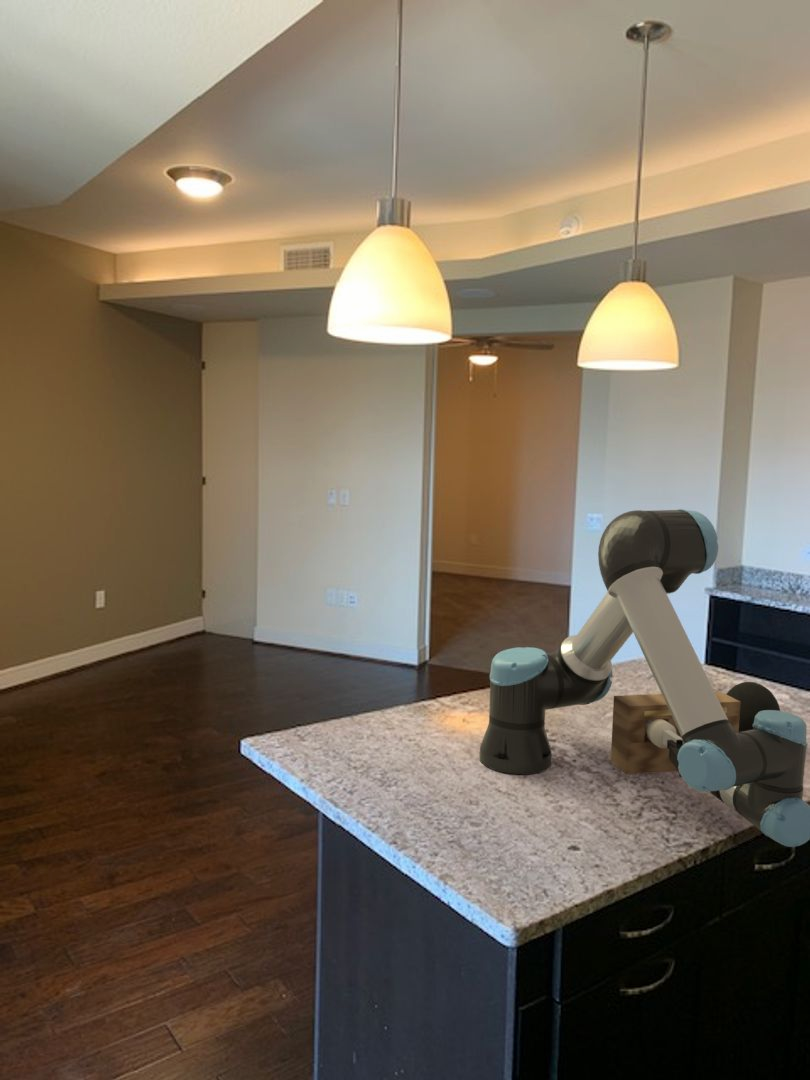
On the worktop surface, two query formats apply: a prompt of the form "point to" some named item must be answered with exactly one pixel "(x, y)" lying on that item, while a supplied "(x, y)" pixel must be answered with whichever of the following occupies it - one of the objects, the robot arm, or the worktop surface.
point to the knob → (657, 731)
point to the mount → (632, 741)
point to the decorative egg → (752, 702)
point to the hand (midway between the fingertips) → (666, 736)
